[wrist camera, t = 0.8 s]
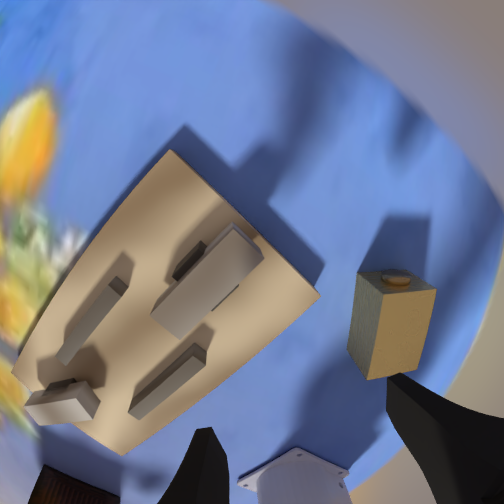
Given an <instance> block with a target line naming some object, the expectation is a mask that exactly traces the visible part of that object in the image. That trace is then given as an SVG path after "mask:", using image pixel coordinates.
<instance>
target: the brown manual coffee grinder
mask: <svg viewBox="0 0 504 504" xmlns="http://www.w3.org/2000/svg"><path fill="white" fill-rule="evenodd" d="M28 504H120V497H119V496H116V495H114V494H112V493H110V492H107V491H105V490H102V489H100V488H97V487H95V486H92V485H90V484H87V483H85V482H83V481H80V480H78V479H76V478H73V477H71V476H69V475H66V474H64V473H62V472H60V471H57V470H55V469H53V468H51V467H49V466H47V465H45V464H44V465H43V467H42V470H41V472H40V475H39V477H38V479H37V482H36V484H35V486H34V489H33V491H32V494H31V496H30V499H29V501H28Z"/></svg>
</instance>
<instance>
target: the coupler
mask: <svg viewBox="0 0 504 504" xmlns="http://www.w3.org/2000/svg"><path fill="white" fill-rule="evenodd" d="M436 291H437V289H436V288H435V287H433V286H431V285H430V284H428V283H427V282H425V281H423V280H422V279H420V278H419V277H417V276H415V275H414V274H412V273H411V272H409V271H407V270H395V269H388V270H384V271H376V272H358V273H357V276H356V285H355V294H354V302H353V310H352V317H351V324H350V331H349V338H348V344H347V351H348V352H349V354H350V356H351V357H352V359H353V360H354V362H355V363H356V365H357V366H358V368H359V369H360V371H361V372H362V374H363V375H364V377H365V379H366V380H371V379H376V378H381V377H386V376H391V375H395V374H397V373H399V372H401V373H404V372H409V371H413V370H417V367H418V364H419V360H420V357H421V354H422V350H423V346H424V343H425V339H426V335H427V331H428V327H429V323H430V319H431V315H432V310H433V306H434V301H435V296H436Z"/></svg>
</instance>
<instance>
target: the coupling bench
mask: <svg viewBox="0 0 504 504" xmlns="http://www.w3.org/2000/svg"><path fill="white" fill-rule="evenodd" d="M320 297H321V296H320V294H319V293H318V291H317V290H316V289H315V287H314V286H313V285H312V284H311V283H310V282H309V281H308V280H307V279H306V278H305V277H304V276H303V275H302V274H301V273H300V272H299V271H298V270H297V269H296V268H295V267H294V266H293V265H292V264H291V263H290V262H289V261H288V260H287V259H286V258H285V257H284V256H283V255H282V254H281V253H280V252H279V251H278V250H277V249H276V248H274V247H273V246H272V245H271V244H270V243H269V242H268V241H267V240H266V239H265V238H264V237H263V236H262V235H261V234H260V233H259V232H258V231H257V230H256V229H255V228H254V227H253V226H252V225H251V224H250V223H249V222H248V221H247V220H246V219H245V218H244V217H243V216H242V215H241V214H240V213H239V212H238V211H237V210H236V209H235V208H234V207H233V206H232V205H231V204H230V203H229V202H227V201H226V200H225V199H224V198H223V197H222V196H221V195H220V194H219V193H218V192H217V191H216V190H215V189H214V188H213V187H212V186H211V185H210V184H209V183H208V182H207V181H206V180H205V179H204V178H203V177H202V176H200V175H199V174H198V173H197V172H196V171H195V170H194V169H193V168H192V167H191V166H190V165H189V164H188V163H187V162H186V161H185V160H184V159H183V158H182V157H181V156H180V155H178V154H177V153H176V152H175V151H174V150H171V149H169V150H168V151H167V153H166V154H165V155H164V156H163V157H162V158H161V159H160V160H159V161H158V162H157V163H156V164H155V166H154V167H153V168H152V169H151V170H150V171H149V172H148V173H147V174H146V176H145V177H144V178H143V179H142V180H141V181H140V182H139V184H138V185H137V186H136V187H135V188H134V189H133V191H132V192H131V193H130V194H129V195H128V197H127V198H126V199H125V200H124V201H123V203H122V204H121V205H120V206H119V207H118V209H117V210H116V211H115V212H114V214H113V215H112V216H111V217H110V219H109V220H108V221H107V223H106V224H105V225H104V226H103V228H102V229H101V230H100V232H99V233H98V234H97V236H96V237H95V238H94V240H93V241H92V242H91V244H90V245H89V246H88V248H87V249H86V250H85V252H84V253H83V255H82V256H81V257H80V259H79V260H78V262H77V263H76V264H75V266H74V267H73V269H72V270H71V272H70V273H69V275H68V276H67V278H66V279H65V280H64V282H63V283H62V285H61V287H60V288H59V290H58V291H57V293H56V294H55V296H54V297H53V299H52V300H51V302H50V304H49V305H48V307H47V309H46V310H45V312H44V313H43V315H42V317H41V318H40V320H39V322H38V323H37V325H36V327H35V329H34V330H33V332H32V334H31V336H30V337H29V339H28V341H27V343H26V345H25V346H24V348H23V350H22V352H21V354H20V356H19V358H18V360H17V361H16V363H15V365H14V367H13V369H12V371H11V373H12V374H13V375H14V376H15V377H16V378H17V379H18V380H19V381H21V382H22V383H23V384H24V385H25V386H26V387H27V388H28V389H29V390H31V391H32V392H33V394H32V395H31V396H30V398H29V399H28V401H27V402H26V404H25V405H24V408H25V409H26V410H27V411H28V413H29V414H30V415H31V416H32V418H33V419H34V420H35V421H36V422H37V424H38V425H39V426H41V425H53V424H63V423H72V424H73V425H75V426H76V427H77V428H79V429H80V430H82V431H83V432H85V433H86V434H88V435H89V436H90V437H92V438H93V439H95V440H97V441H98V442H100V443H101V444H103V445H104V446H106V447H108V448H109V449H111V450H112V451H114V452H116V453H117V454H119V455H121V456H123V455H124V454H126V453H127V452H129V451H130V450H132V449H133V448H135V447H136V446H138V445H139V444H141V443H142V442H144V441H145V440H146V439H148V438H149V437H151V436H152V435H153V434H155V433H156V432H158V431H159V430H161V429H162V428H163V427H165V426H166V425H167V424H169V423H170V422H172V421H173V420H174V419H176V418H177V417H178V416H180V415H181V414H182V413H184V412H185V411H186V410H188V409H189V408H190V407H192V406H193V405H194V404H196V403H197V402H198V401H199V400H201V399H202V398H203V397H205V396H206V395H207V394H208V393H210V392H211V391H212V390H213V389H215V388H216V387H217V386H219V385H220V384H221V383H222V382H224V381H225V380H226V379H227V378H228V377H230V376H231V375H232V374H233V373H235V372H236V371H237V370H238V369H239V368H241V367H242V366H243V365H244V364H245V363H247V362H248V361H249V360H250V359H251V358H253V357H254V356H255V355H256V354H257V353H259V352H260V351H261V350H262V349H263V348H264V347H266V346H267V345H268V344H269V343H270V342H271V341H272V340H274V339H275V338H276V337H277V336H278V335H279V334H280V333H282V332H283V331H284V330H285V329H286V328H287V327H288V326H289V325H290V324H292V323H293V322H294V321H295V320H296V319H297V318H298V317H299V316H300V315H302V314H303V313H304V312H305V311H306V310H307V309H308V308H309V307H310V306H311V305H312V304H313V303H314V302H316V301H317V300H318V299H319V298H320Z"/></svg>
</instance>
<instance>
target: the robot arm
mask: <svg viewBox="0 0 504 504" xmlns="http://www.w3.org/2000/svg"><path fill="white" fill-rule="evenodd" d="M386 411H387V413H388V415H389V417H390V420H391V422H392V424H393V426H394V428H395V430H396V431H397V433H398V434H399V436H400V437H401V439H402V440H403V442H404V443H405V445H406V446H407V448H408V449H409V451H410V452H411V454H412V455H413V457H414V458H415V460H416V461H417V463H418V464H419V466H420V468H421V470H422V471H423V473H424V476H425V478H426V480H427V482H428V484H429V486H430V488H431V491H432V493H433V495H434V498H435V500H436V503H437V504H504V418H499V417H495V416H490V415H486V414H483V413H479V412H476V411H473V410H470V409H467V408H465V407H462V406H460V405H458V404H455V403H453V402H451V401H449V400H447V399H445V398H443V397H441V396H440V395H438V394H436V393H434V392H432V391H430V390H429V389H427V388H425V387H424V386H422V385H420V384H419V383H417V382H415V381H414V380H412V379H411V378H409V377H407V376H406V375H404V374H402V373H401V372H399V373H397V374H395V375H392V376H390V377H387V399H386ZM348 475H349V471H348V470H345V469H343V468H341V467H338V466H336V465H334V464H332V463H330V462H327V461H325V460H323V459H321V458H319V457H317V456H314V455H312V454H310V453H308V452H306V451H304V450H302V449H300V448H293V449H292V450H290V451H288V452H287V453H285V454H284V455H282V456H280V457H279V458H277V459H275V460H274V461H272V462H270V463H268V464H267V465H265V466H263V467H261V468H260V469H258V470H256V471H254V472H253V473H251V474H249V475H247V476H245V477H243V478H241V479H239V480H238V481H237V485H239V486H241V487H243V488H246V489H249V490H251V491H254V492H257V497H258V504H352V501H351V499H350V496H349V493H348V491H347V488H346V485H345V483H344V480H343V478H345V477H347V476H348ZM157 504H229V470H228V462H227V455H226V453H225V451H224V450H223V448H222V446H221V444H220V442H219V440H218V438H217V437H216V435H215V433H214V431H213V429H212V427H207V428H201V429H197V430H196V431H195V433H194V435H193V438H192V440H191V443H190V445H189V448H188V450H187V452H186V454H185V457H184V459H183V461H182V463H181V465H180V467H179V469H178V471H177V473H176V475H175V476H174V478H173V480H172V482H171V483H170V485H169V487H168V489H167V490H166V492H165V493H164V495H163V496H162V498H161V499H160V500H159V502H158V503H157Z"/></svg>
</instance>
